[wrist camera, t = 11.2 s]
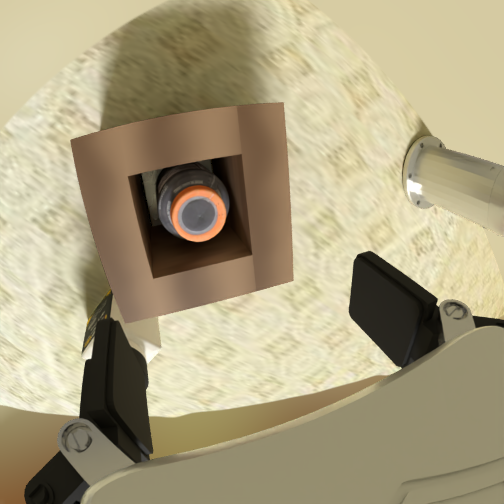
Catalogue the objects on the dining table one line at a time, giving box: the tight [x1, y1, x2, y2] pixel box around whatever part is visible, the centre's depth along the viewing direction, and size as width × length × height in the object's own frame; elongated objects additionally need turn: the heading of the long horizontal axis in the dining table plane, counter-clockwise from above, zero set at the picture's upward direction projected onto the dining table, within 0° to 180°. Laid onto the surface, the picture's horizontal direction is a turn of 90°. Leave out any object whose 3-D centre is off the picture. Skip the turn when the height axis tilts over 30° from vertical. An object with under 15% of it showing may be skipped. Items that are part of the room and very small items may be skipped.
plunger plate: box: [142, 159, 212, 226], centre depth 31 cm, size 7×7×1 cm
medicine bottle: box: [82, 289, 161, 389], centre depth 30 cm, size 7×7×12 cm
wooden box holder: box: [70, 102, 293, 324], centre depth 26 cm, size 15×15×12 cm
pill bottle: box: [156, 162, 229, 242], centre depth 26 cm, size 6×6×11 cm
